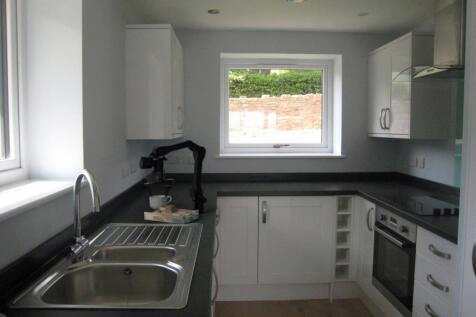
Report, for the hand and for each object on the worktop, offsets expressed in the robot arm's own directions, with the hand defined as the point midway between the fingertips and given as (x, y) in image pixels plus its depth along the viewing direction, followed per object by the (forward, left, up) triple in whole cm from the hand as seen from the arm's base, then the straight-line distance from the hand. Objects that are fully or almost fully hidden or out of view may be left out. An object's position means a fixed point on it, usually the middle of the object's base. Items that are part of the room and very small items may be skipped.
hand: (158, 196), depth 209 cm
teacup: (-22, -14, -13) cm, 29 cm away
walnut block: (-5, +4, -10) cm, 12 cm away
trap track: (-2, +7, -12) cm, 14 cm away
